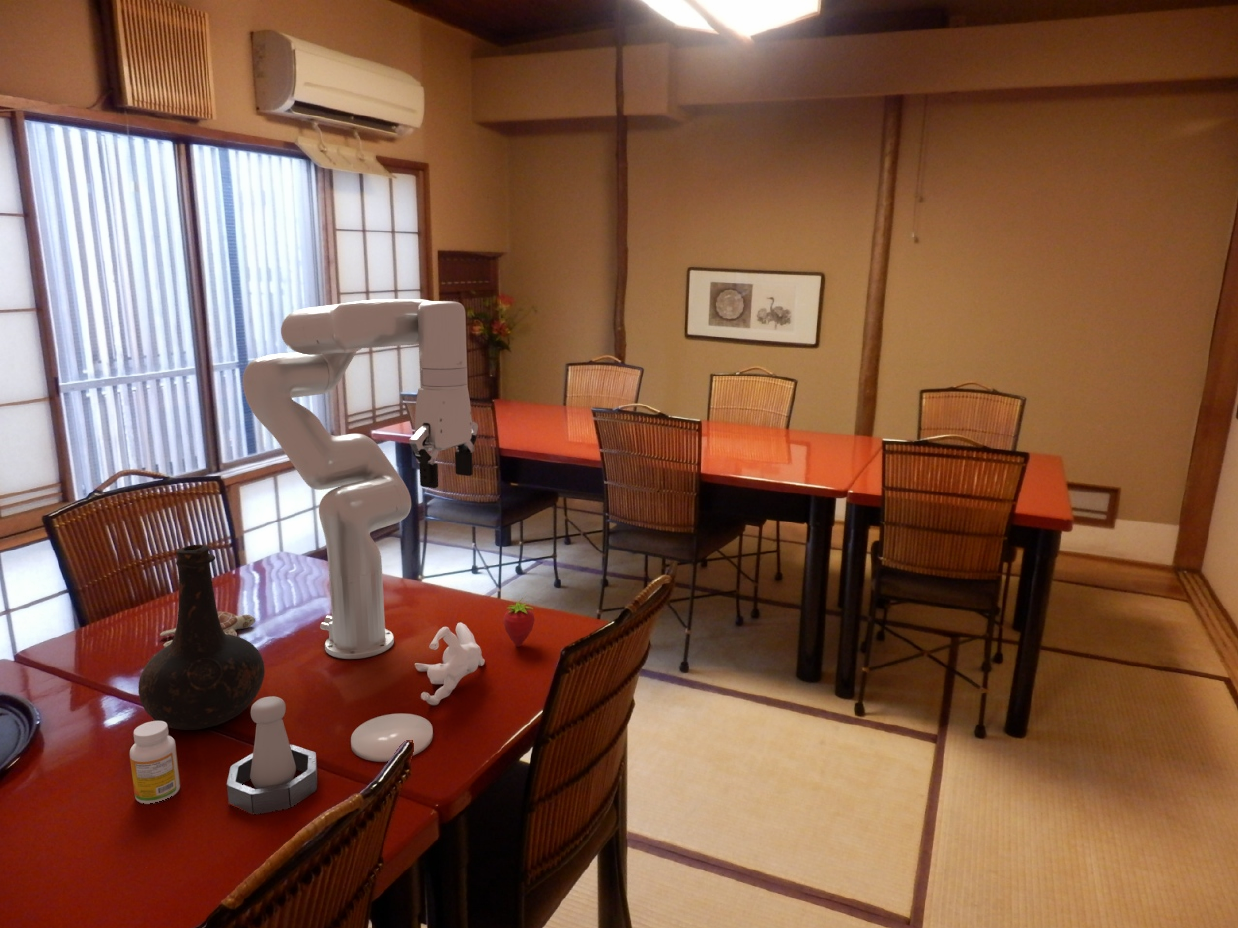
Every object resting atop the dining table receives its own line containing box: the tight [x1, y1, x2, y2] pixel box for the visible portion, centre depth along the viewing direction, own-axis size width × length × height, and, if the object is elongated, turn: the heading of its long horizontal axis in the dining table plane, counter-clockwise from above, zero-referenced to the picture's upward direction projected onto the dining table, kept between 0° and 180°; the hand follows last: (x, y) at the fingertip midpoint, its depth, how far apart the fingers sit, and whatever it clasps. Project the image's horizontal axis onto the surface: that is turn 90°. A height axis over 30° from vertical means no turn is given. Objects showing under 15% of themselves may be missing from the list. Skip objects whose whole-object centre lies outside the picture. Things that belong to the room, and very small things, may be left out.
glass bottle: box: [137, 544, 266, 731], centre depth 129 cm, size 18×18×28 cm
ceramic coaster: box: [350, 713, 434, 763], centre depth 126 cm, size 12×12×1 cm
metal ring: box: [226, 744, 318, 815], centre depth 113 cm, size 11×11×3 cm
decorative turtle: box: [159, 610, 256, 648], centre depth 161 cm, size 18×17×5 cm
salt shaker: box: [250, 695, 297, 789], centre depth 112 cm, size 6×6×13 cm
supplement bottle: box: [129, 720, 181, 805], centre depth 111 cm, size 5×5×10 cm
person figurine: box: [414, 622, 485, 706], centre depth 143 cm, size 13×13×18 cm
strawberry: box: [503, 598, 535, 648], centre depth 158 cm, size 6×8×10 cm
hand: (447, 480), depth 138 cm, fingers open, 9 cm apart
